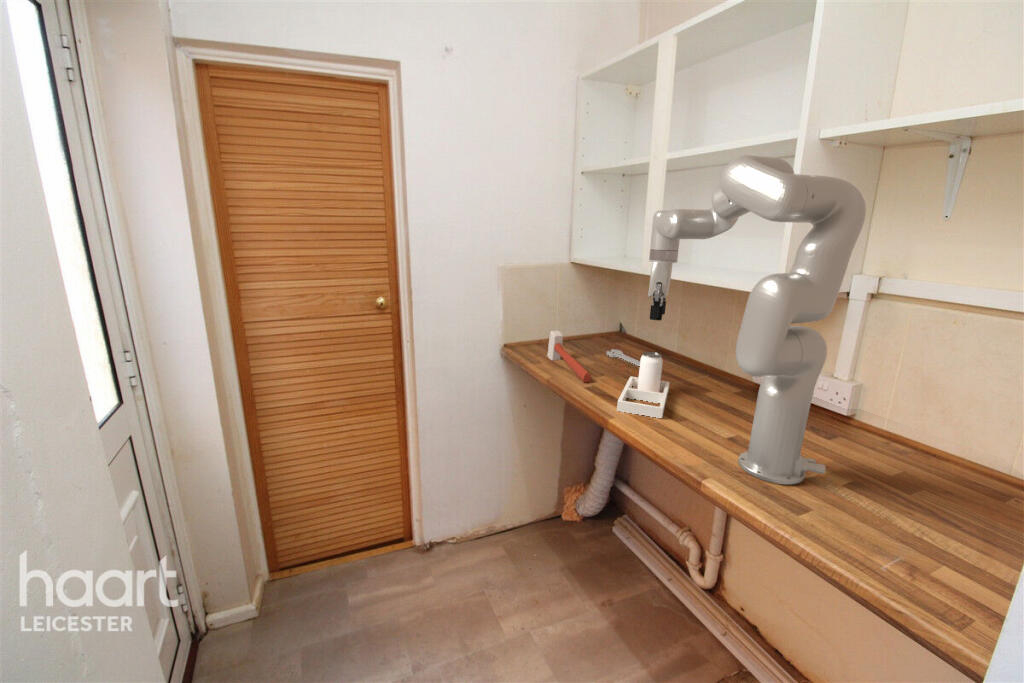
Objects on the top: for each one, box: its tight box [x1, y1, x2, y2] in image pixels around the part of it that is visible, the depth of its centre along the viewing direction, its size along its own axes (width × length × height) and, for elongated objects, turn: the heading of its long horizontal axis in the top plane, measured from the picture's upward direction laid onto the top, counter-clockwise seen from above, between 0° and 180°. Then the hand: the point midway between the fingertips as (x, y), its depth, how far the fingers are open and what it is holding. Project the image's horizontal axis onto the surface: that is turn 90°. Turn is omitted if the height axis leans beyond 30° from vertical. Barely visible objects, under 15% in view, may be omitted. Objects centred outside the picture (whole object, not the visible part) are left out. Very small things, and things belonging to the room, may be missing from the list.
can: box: [637, 351, 664, 393], centre depth 142 cm, size 6×6×12 cm
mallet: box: [546, 330, 592, 384], centre depth 163 cm, size 11×4×30 cm
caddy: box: [616, 376, 670, 419], centre depth 137 cm, size 12×23×3 cm, turn 158°
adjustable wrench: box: [606, 348, 640, 367], centre depth 174 cm, size 25×6×2 cm, turn 22°
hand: (657, 316), depth 134 cm, fingers open, 9 cm apart
